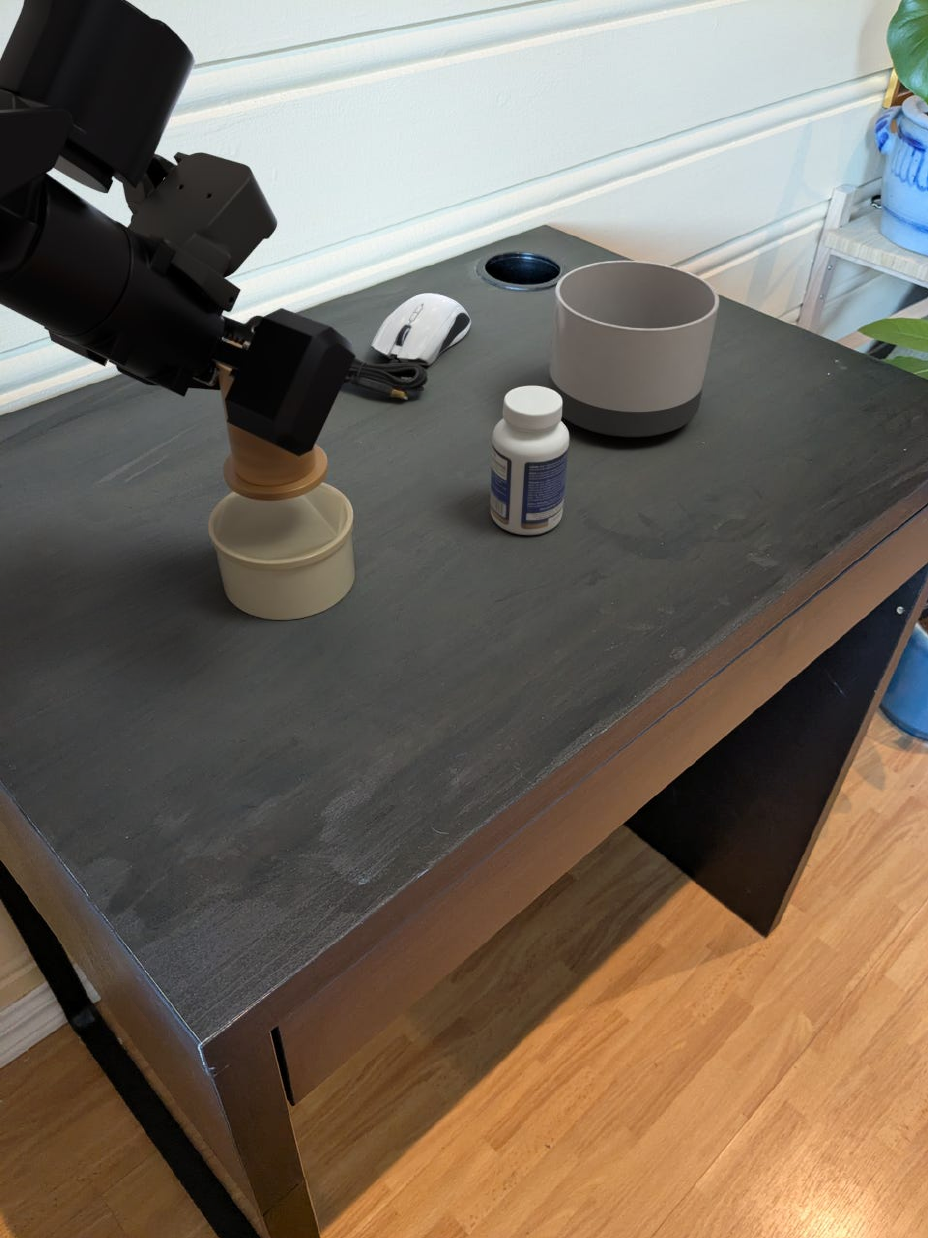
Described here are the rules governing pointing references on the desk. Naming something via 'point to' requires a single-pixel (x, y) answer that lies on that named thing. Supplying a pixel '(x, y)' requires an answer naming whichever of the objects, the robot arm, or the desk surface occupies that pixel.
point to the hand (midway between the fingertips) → (284, 396)
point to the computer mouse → (411, 344)
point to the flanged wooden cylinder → (267, 461)
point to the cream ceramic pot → (285, 552)
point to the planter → (631, 346)
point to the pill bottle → (529, 461)
